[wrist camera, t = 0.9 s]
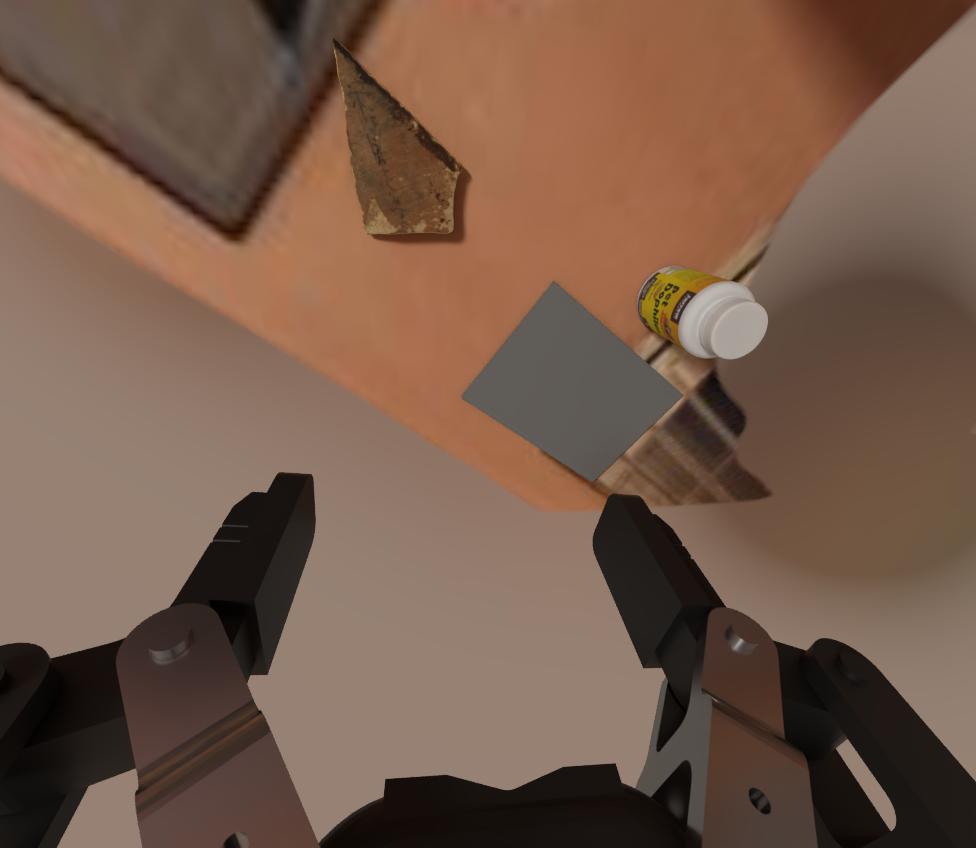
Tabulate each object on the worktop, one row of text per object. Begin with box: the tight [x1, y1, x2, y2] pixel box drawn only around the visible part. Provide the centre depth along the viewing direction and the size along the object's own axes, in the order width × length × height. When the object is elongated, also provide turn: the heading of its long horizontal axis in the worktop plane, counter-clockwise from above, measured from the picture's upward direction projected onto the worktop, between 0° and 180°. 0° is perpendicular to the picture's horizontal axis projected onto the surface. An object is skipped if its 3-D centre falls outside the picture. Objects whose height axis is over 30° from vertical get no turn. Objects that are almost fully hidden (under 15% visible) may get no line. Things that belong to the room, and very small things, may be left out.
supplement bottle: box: [637, 266, 768, 359], centre depth 31 cm, size 6×6×10 cm
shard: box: [332, 37, 463, 235], centre depth 28 cm, size 11×8×2 cm
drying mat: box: [461, 281, 683, 482], centre depth 39 cm, size 13×18×1 cm
